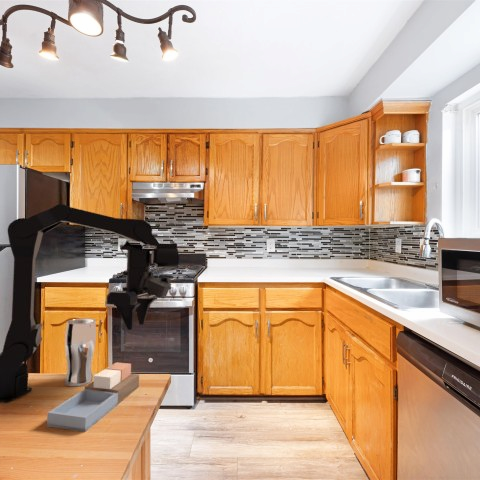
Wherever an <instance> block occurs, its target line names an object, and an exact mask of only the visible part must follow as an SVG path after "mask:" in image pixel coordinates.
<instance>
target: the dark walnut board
mask: <svg viewBox="0 0 480 480" xmlns="http://www.w3.org/2000/svg"><path fill="white" fill-rule="evenodd" d="M93 385H94V380H92V381H91V382H89V383H87V384H86V385H85V386H84V389H90V390H98V391H107V392H116V393H118V405H119V404H120V403H122V402H123V401H124V400H126V398H128V397H129V396H130V395H131V394H132V393H133V392H135V391H136V390H137V389H138V388H139V387H140V374H139V373H138V374H137V373H131V374H130V375H129V376H128V377H126V378H125V379H124V380H122V381H120V382H119V383H118V384H117V385H115V386H114V387H112V388H111V389H103V388H95V387H93Z"/></svg>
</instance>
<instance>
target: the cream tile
mask: <svg viewBox="0 0 480 480" xmlns="http://www.w3.org/2000/svg"><path fill="white" fill-rule="evenodd" d="M120 379H121V371H119V370H109V369H106V368H105V369H103V370H100V372H98V373H96V374H94V375H93V381H94V385H93V387H95V388H103V389H111V388H112V387H114V386H115V385H117V384H118V383H119V382H120Z"/></svg>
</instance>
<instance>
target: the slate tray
mask: <svg viewBox="0 0 480 480" xmlns="http://www.w3.org/2000/svg"><path fill="white" fill-rule="evenodd" d="M118 405H119V404H118V393H116V392H107V391H98V390H90V389H85V388H84V389H82V390H80V391H79V392H78V393H76V394H75V395H73V396H71V397H70V398H69V399H67V400H65V401H63V402H62V403H60V404H58V405H57V406H56V407H54V408H52V409H51V410H49V411H47V413H46V414H47V415H46V417H47V418H46V419H47V420H46V427H47V428H49V427H50V428H56V429H63V430H69V431H78V432H84V433H85V432H87V431H88V430H89V429H90V428H91V427H93V426H94V425H95V424H96V423H97V422H98V421H100V420H101V419H103V418H104V417H105V416H107V414H109V412H111V411H112V410H113V409H115V408H116V407H117V406H118Z"/></svg>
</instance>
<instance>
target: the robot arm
mask: <svg viewBox="0 0 480 480" xmlns="http://www.w3.org/2000/svg"><path fill="white" fill-rule="evenodd" d="M63 223H70V224H74V225H78V226H83V227H87V228H91V229H95V230H101V231H105V232H109V233H113V234H116V235H118V236H120V237H123V238H124V239H128V240H126V241H125V243H124V244H123V245H122V246H120V247H119V250H120V251H127V255H126V256H127V259H126V270H125V271H122V272H123V274H122V275H123V276H126V277H125V279H126V281H125V282H126V283H125V284H126V285H125V286H124V287H122V290H114V291H113V290H112V291H110V292H109V293H108V294H107V295H106V303H105V304H106V305H113V306H115V307H116V309H117V311H118V313H119V315H120V316H121V319H122V320H123V322H124V325H125V327H126V328H127V330H128V331H133V327H134V323H135V317H136V315H137V320H138V324H139V326H142V325H143V326H144V324H145V321H146V318H147V316H148V312H149V309H150V307H151V304H153V303H154V302H155V301H157V300H158V298H159V299H160V298H163V297H167V295H168V292H169V290H172V283H171V278H169V277H167V276H163V277H161V278H156V277H154V272H153V271H151V270H150V268H151V267H150V261H151V264H154V267H155V268H159V269H161V268H163V269H164V268H172V269H173V268H178V266H179V264H180V263H179V262H180V254H179V250H178V243H177V242H173V243H172V242H171V243H159V241H158V239H157V238H156V236H154V234H153V228H152V225H151V224H150V222H148V221H146V220H145V219H137V218H122V217H121V218H119V217H118V218H117V217H112V216H109V215H105V214H100V213H96V212H92V211H88V210H84V209H79V208H76V207H71V206H68V205H66V204H63V203H62V204H61V203H59V204H56V205H54V206H53V207H50V208H48V209H46V210H44V211H41V212H39V213H35V214H33V215H32V216H29V217H28V218H26V217H21V218H20V217H19V218H16V219H14V220H13V221H12V222H10V223H9V224H8V227H7V236H8V241H9V246H10V249H11V250H10V251H11V253H12V256H13V279H12V304H11V320H10V324H9V327H8V329H7V330H8V331H7V332H6V336H5V341H4V344H3V348H2V351H1V352H0V402H3V403H9V402H11V401H13V400H15V399H17V398H19V397H21V396H24V395H25V394H27V393H29V392H31V391H32V390H33V387H32V386H31V387H30V386H28V385H29V372H28V367H29V366H28V365H29V364H28V365H27V364H26V363H25V362H26V361H28V360H29V359H30V358H32V356H33V354H34V353H35V351H36V350H37V348H38V347H39V345H40V344H41V342H42V341H43V337H42V335H41V334H42V328H43V323H38V324H36V321H35V318H34V311H35V310H34V307H35V302H34V301H35V280H36V259H37V256H38V253H39V249H40V246H41V244H42V239H43V235H44V234H45V233H48V232H50V231H51V230H53V229H54V228H56V227H57V226H60V225H61V224H63ZM129 240H130V241H132V242H135V243H130V242H129ZM140 243H142V244H143V245H145V246H146V247H153V248H145V247H144V248H143V245H142V244H140Z"/></svg>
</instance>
